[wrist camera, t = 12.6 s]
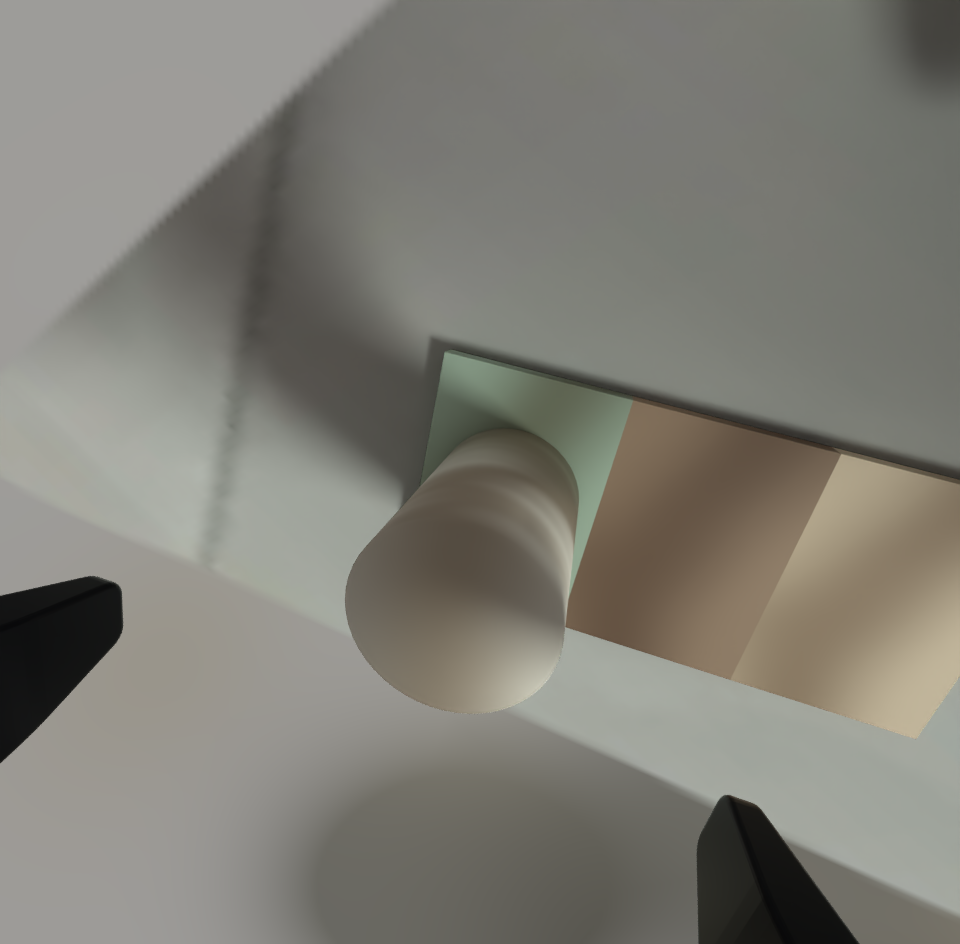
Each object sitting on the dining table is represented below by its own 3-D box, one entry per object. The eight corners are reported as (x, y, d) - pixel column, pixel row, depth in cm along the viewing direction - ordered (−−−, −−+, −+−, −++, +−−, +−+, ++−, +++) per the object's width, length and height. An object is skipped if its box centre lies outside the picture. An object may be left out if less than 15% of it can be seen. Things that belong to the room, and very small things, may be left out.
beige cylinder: (597, 451, 14) (593, 559, 9) (557, 578, 16) (531, 741, 10) (452, 411, 15) (359, 489, 9) (426, 538, 16) (333, 672, 11)
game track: (1052, 503, 13) (1072, 513, 12) (904, 722, 15) (915, 739, 15) (451, 349, 15) (444, 352, 14) (409, 565, 17) (402, 575, 17)
